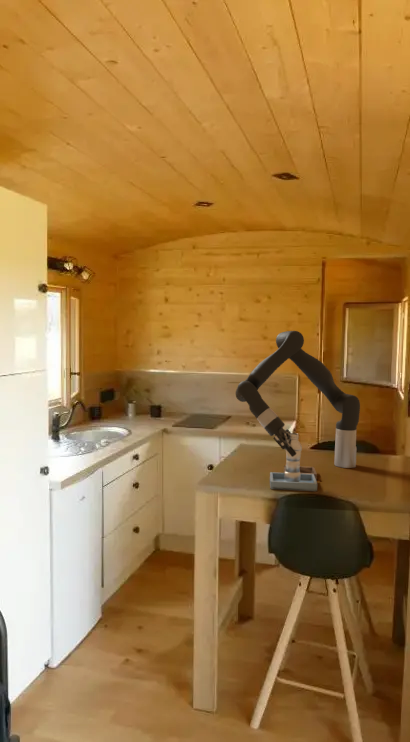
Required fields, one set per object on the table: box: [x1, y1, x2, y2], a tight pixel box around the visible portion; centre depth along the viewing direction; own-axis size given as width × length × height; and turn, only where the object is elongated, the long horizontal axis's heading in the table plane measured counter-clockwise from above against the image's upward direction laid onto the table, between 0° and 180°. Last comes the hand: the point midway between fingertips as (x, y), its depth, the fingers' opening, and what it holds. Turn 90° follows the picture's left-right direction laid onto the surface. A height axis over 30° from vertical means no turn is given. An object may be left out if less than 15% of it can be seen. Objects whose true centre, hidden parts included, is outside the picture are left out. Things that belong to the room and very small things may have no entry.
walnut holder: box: [283, 465, 318, 481], centre depth 241 cm, size 13×12×2 cm
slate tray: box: [269, 471, 318, 492], centre depth 227 cm, size 18×14×3 cm
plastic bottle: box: [284, 432, 303, 482], centre depth 226 cm, size 6×7×20 cm
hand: (297, 453), depth 225 cm, fingers open, 7 cm apart
